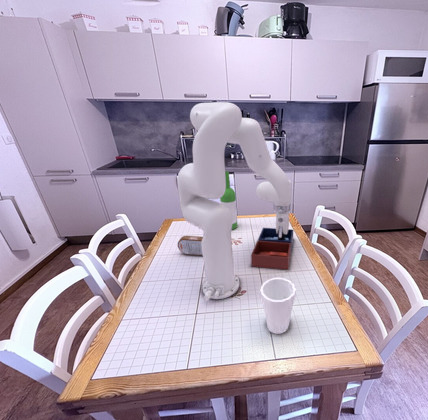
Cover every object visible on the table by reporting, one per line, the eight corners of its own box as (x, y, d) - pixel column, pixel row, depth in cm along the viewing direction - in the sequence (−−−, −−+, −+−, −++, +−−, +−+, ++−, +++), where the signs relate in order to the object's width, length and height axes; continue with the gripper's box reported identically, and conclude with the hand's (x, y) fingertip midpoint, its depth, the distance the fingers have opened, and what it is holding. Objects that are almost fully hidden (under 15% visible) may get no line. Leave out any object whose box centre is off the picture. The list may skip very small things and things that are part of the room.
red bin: (288, 269, 92) (288, 258, 90) (251, 266, 94) (250, 254, 92) (290, 254, 102) (291, 243, 100) (257, 251, 104) (257, 240, 102)
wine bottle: (239, 228, 124) (235, 172, 112) (224, 231, 121) (219, 174, 109) (235, 222, 130) (231, 169, 119) (221, 225, 127) (216, 170, 116)
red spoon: (287, 257, 99) (287, 251, 98) (286, 263, 95) (286, 257, 94) (261, 254, 101) (260, 249, 100) (258, 260, 97) (258, 255, 96)
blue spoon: (288, 242, 111) (288, 236, 110) (287, 246, 107) (287, 241, 106) (265, 240, 112) (265, 235, 111) (263, 245, 108) (263, 239, 107)
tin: (214, 253, 102) (212, 236, 99) (212, 257, 100) (209, 240, 96) (181, 251, 104) (178, 234, 101) (178, 255, 101) (174, 238, 98)
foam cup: (276, 307, 74) (276, 273, 69) (300, 322, 69) (302, 287, 64) (255, 326, 68) (253, 290, 63) (279, 345, 62) (280, 307, 57)
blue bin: (291, 252, 103) (291, 241, 101) (258, 249, 105) (257, 239, 103) (293, 239, 114) (293, 229, 112) (263, 237, 116) (263, 227, 113)
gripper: (289, 215, 94) (288, 254, 101) (292, 201, 109) (291, 236, 116) (270, 214, 95) (271, 252, 102) (276, 200, 110) (276, 234, 117)
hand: (281, 243), depth 109 cm, fingers closed
